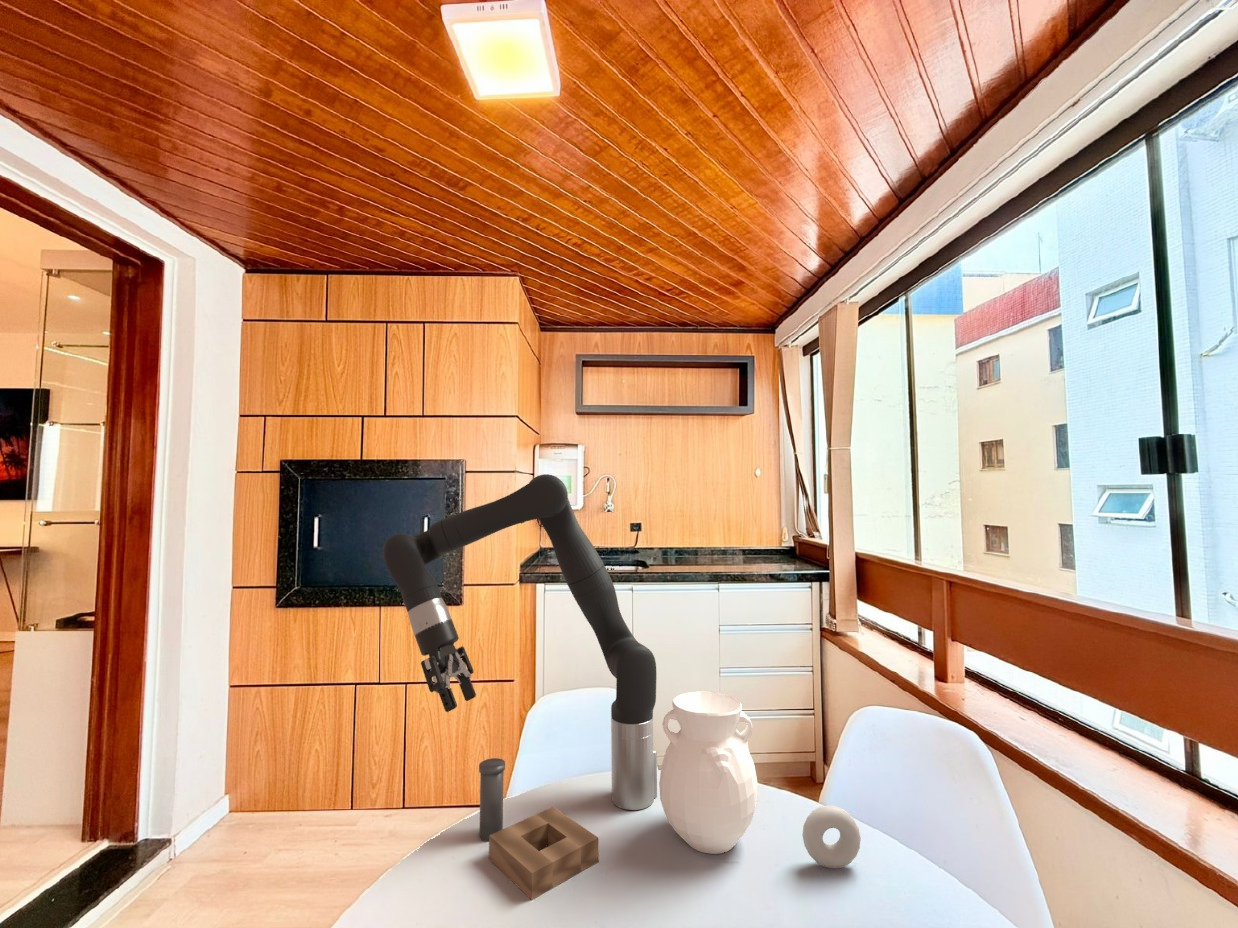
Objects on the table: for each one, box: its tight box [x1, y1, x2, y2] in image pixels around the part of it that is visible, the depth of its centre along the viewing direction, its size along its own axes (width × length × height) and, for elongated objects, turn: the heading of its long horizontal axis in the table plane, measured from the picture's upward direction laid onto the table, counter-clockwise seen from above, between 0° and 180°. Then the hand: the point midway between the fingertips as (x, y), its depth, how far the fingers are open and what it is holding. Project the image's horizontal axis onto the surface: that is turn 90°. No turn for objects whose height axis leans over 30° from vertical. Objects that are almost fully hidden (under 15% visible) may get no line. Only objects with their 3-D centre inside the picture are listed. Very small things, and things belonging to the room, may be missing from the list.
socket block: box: [488, 806, 600, 901], centre depth 95 cm, size 14×14×4 cm
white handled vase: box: [658, 690, 759, 855], centre depth 102 cm, size 19×18×25 cm
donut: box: [802, 804, 862, 870], centre depth 93 cm, size 10×3×10 cm, turn 90°
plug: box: [478, 757, 506, 842], centre depth 103 cm, size 5×5×13 cm
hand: (462, 704), depth 103 cm, fingers open, 8 cm apart
